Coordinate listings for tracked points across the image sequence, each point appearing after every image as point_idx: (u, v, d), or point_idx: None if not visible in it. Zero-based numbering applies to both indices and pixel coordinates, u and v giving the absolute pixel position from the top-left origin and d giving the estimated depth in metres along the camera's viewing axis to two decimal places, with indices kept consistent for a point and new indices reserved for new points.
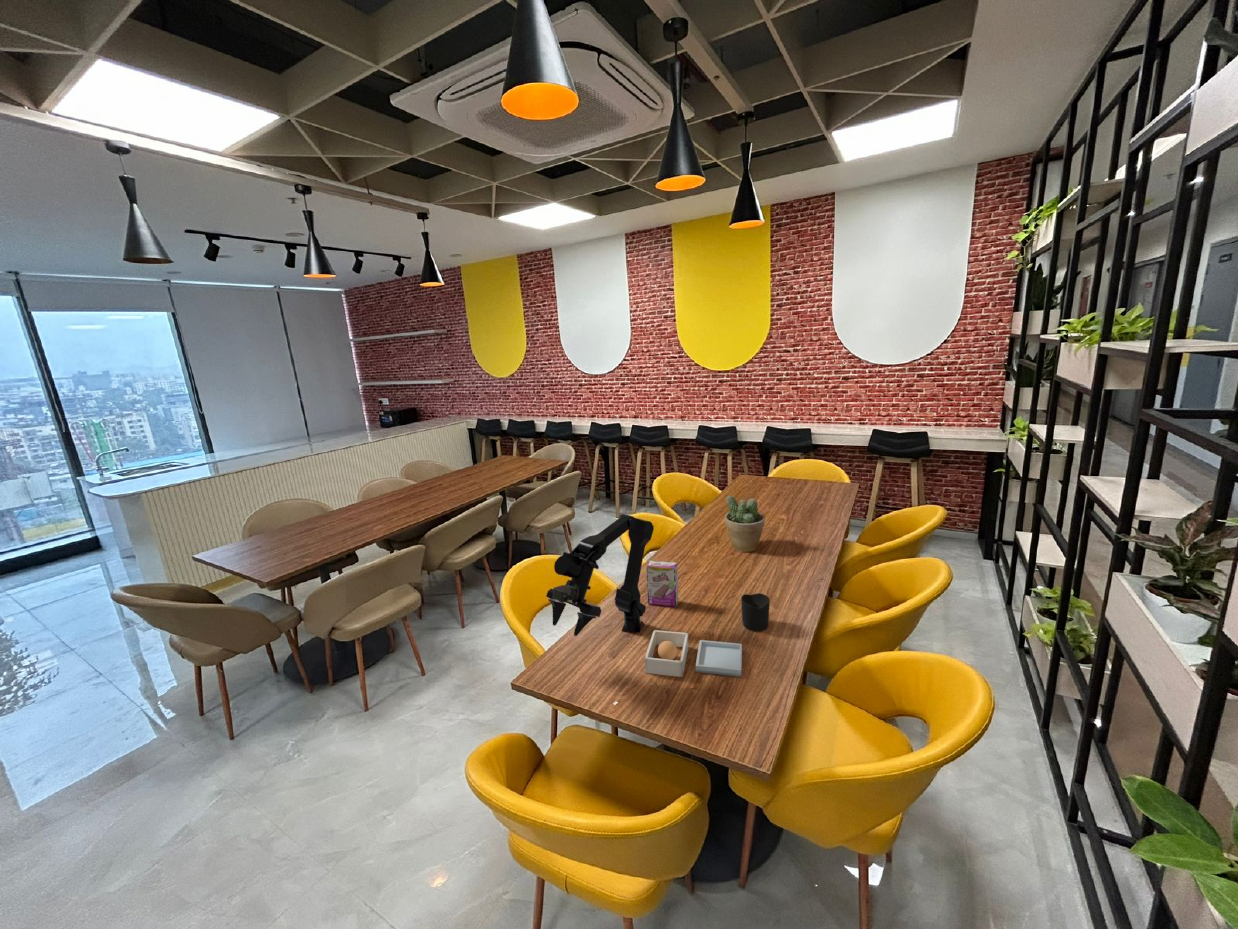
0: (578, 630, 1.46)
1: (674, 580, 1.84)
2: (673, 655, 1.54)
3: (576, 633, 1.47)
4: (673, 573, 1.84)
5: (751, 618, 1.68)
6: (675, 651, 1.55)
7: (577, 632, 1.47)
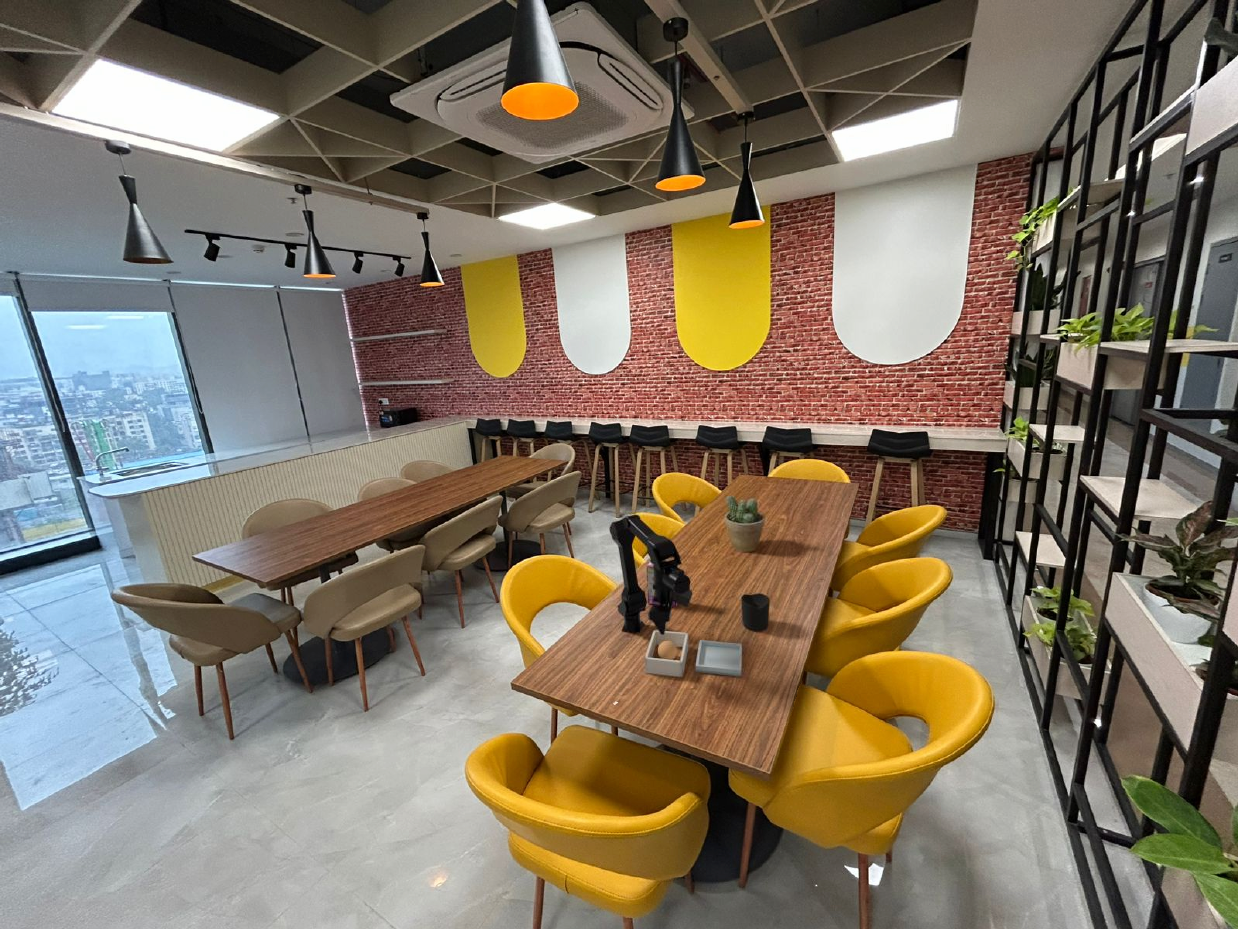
0: None
1: None
2: (673, 655, 1.54)
3: None
4: None
5: (751, 618, 1.68)
6: (675, 651, 1.55)
7: None
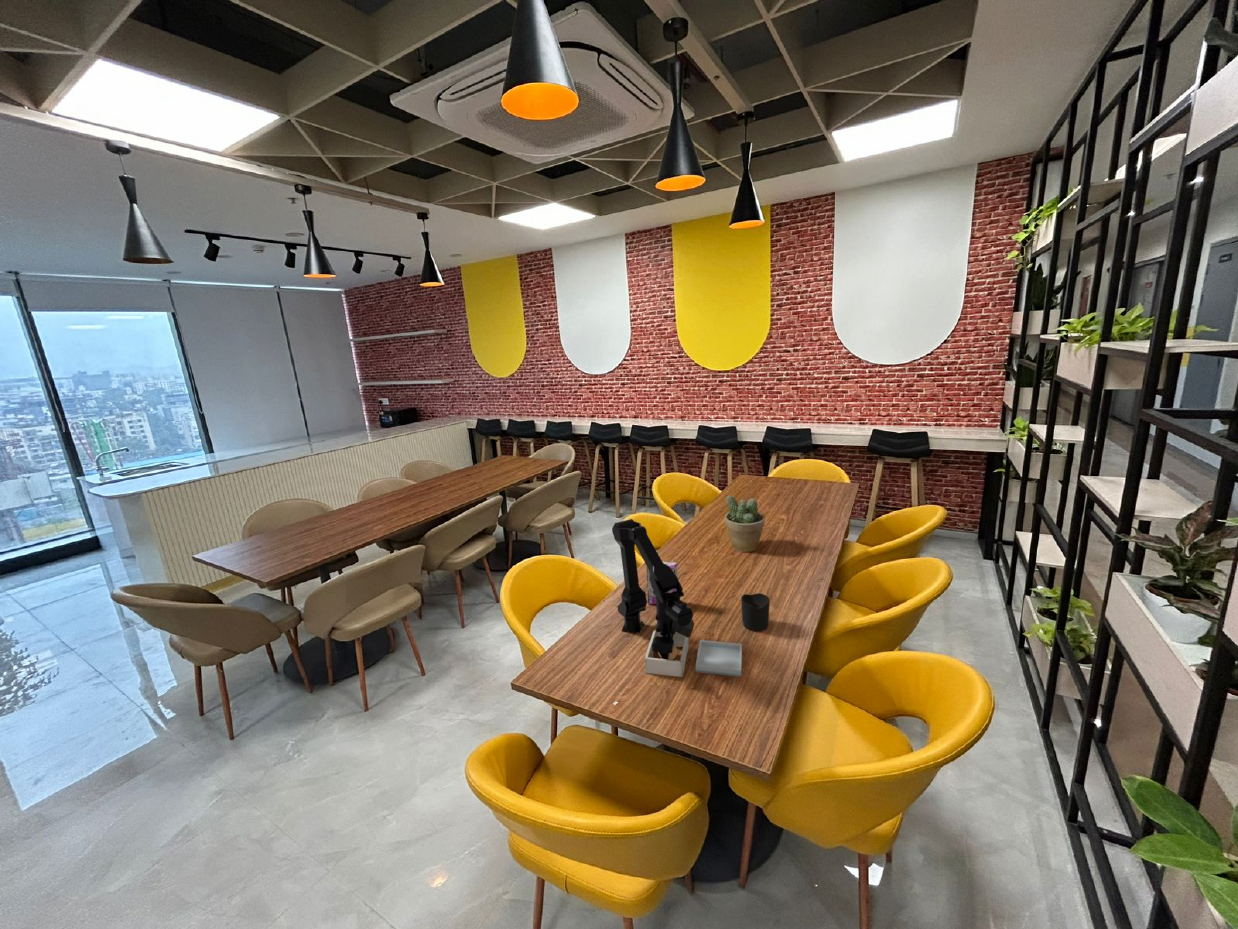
0: None
1: None
2: (673, 655, 1.54)
3: None
4: None
5: (751, 618, 1.68)
6: (675, 651, 1.55)
7: None
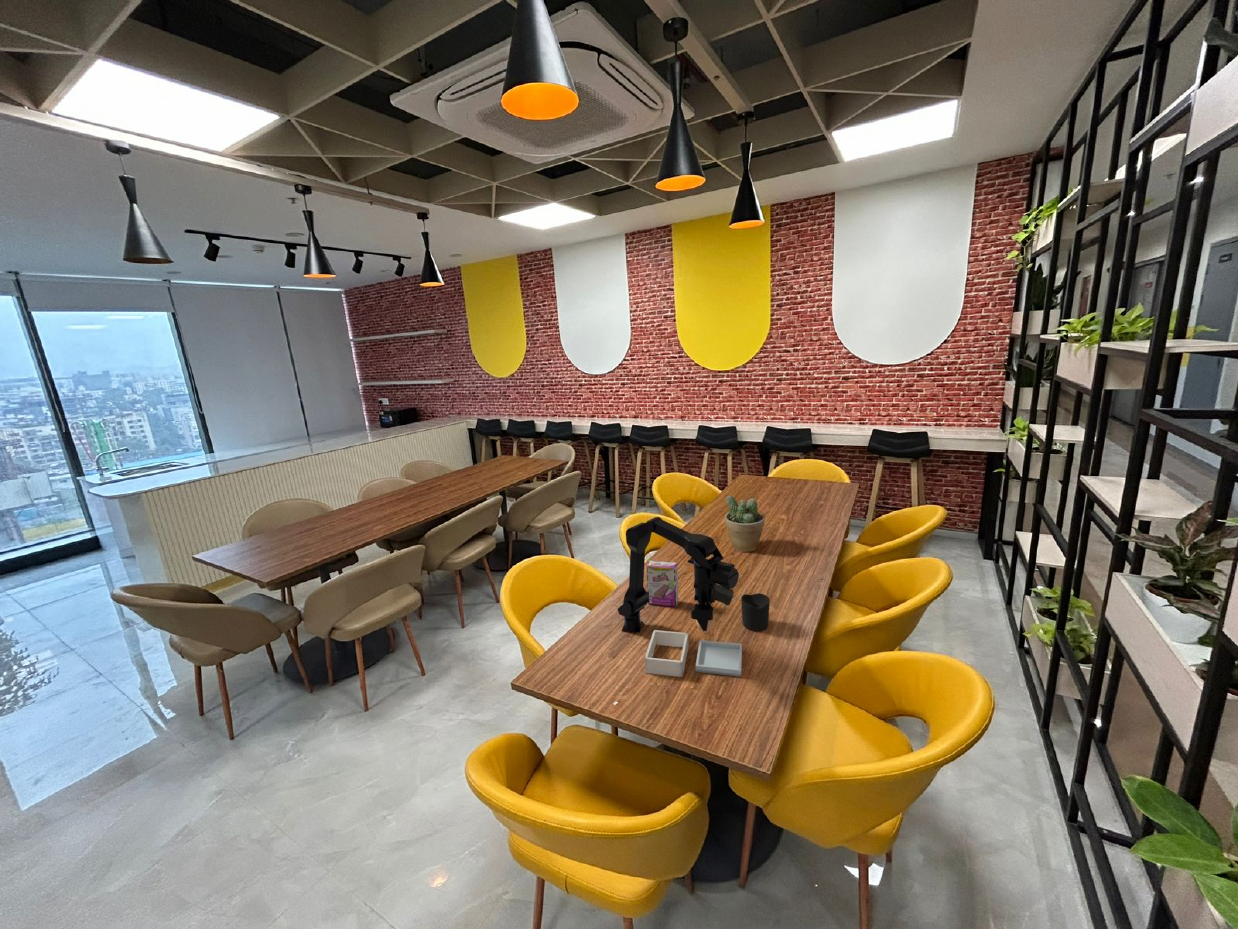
0: None
1: (674, 580, 1.84)
2: (712, 624, 1.49)
3: None
4: (673, 573, 1.84)
5: (751, 618, 1.68)
6: (714, 620, 1.50)
7: None
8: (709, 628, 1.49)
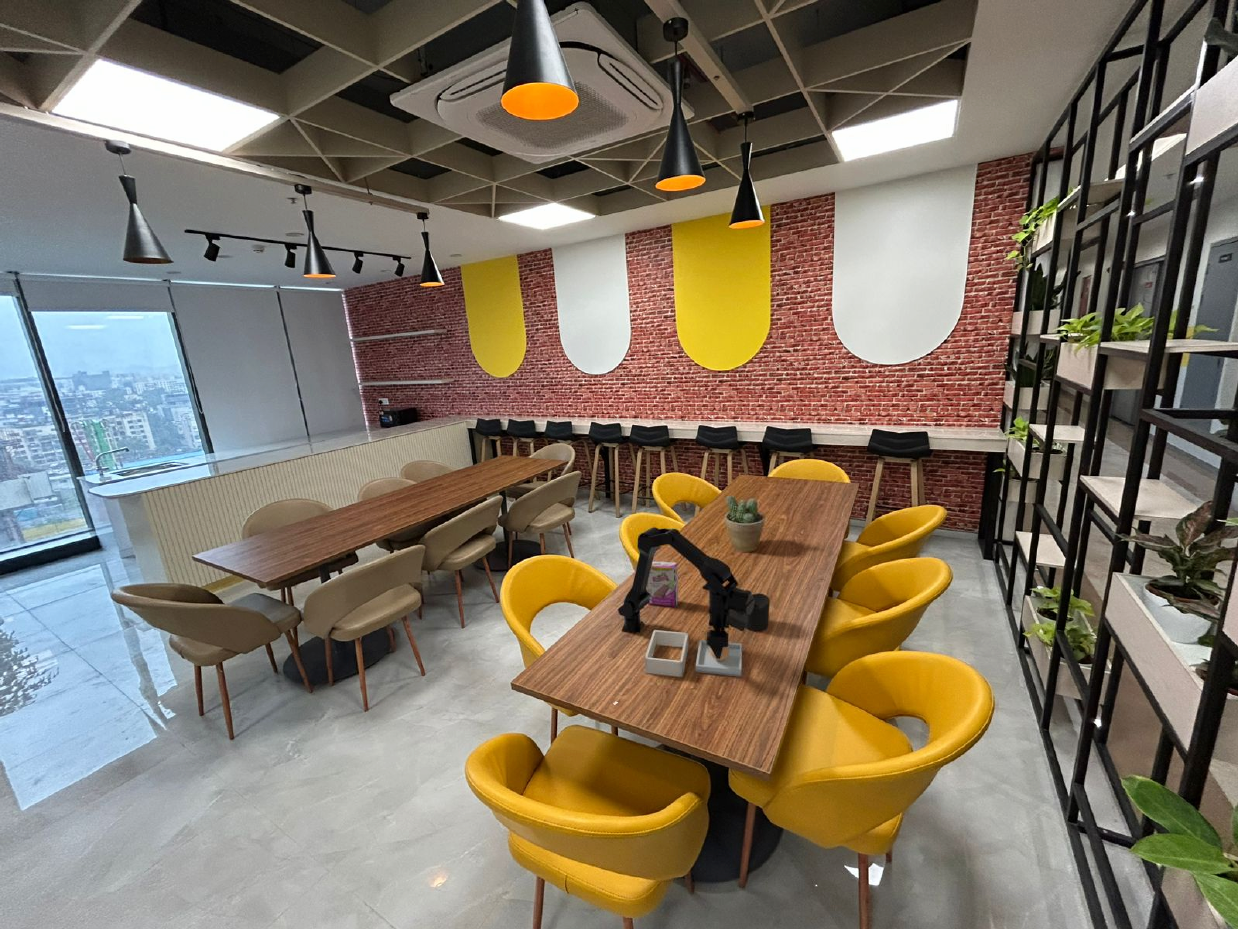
0: None
1: (674, 580, 1.84)
2: (726, 654, 1.51)
3: None
4: (673, 573, 1.84)
5: (751, 618, 1.68)
6: (728, 650, 1.52)
7: None
8: (723, 658, 1.52)
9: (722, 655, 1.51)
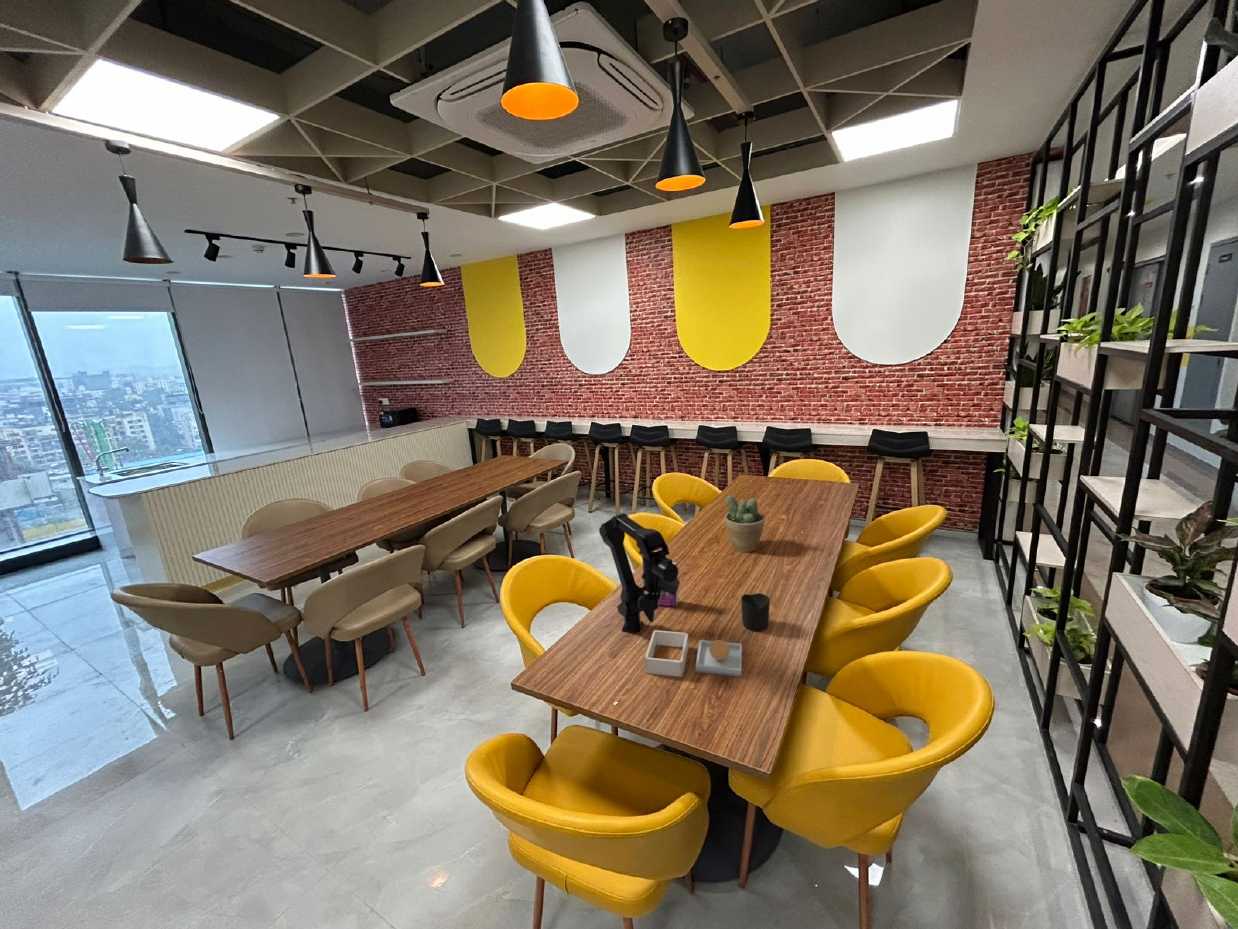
0: None
1: None
2: (726, 654, 1.51)
3: None
4: None
5: (751, 618, 1.68)
6: (728, 650, 1.52)
7: None
8: (723, 658, 1.51)
9: (722, 656, 1.51)
